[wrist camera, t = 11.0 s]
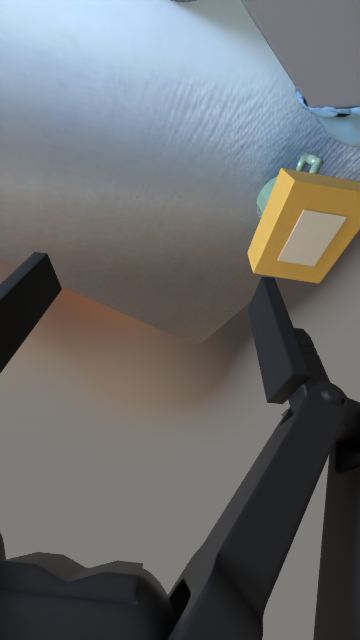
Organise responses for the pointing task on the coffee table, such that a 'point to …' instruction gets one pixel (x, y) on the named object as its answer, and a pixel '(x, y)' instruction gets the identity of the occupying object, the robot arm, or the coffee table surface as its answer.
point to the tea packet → (305, 225)
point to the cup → (267, 189)
